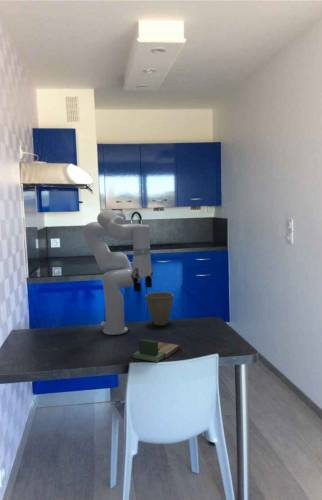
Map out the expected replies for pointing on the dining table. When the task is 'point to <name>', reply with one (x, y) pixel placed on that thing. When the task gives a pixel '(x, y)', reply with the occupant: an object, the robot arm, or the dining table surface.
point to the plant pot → (159, 306)
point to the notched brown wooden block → (167, 348)
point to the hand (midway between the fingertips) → (143, 289)
